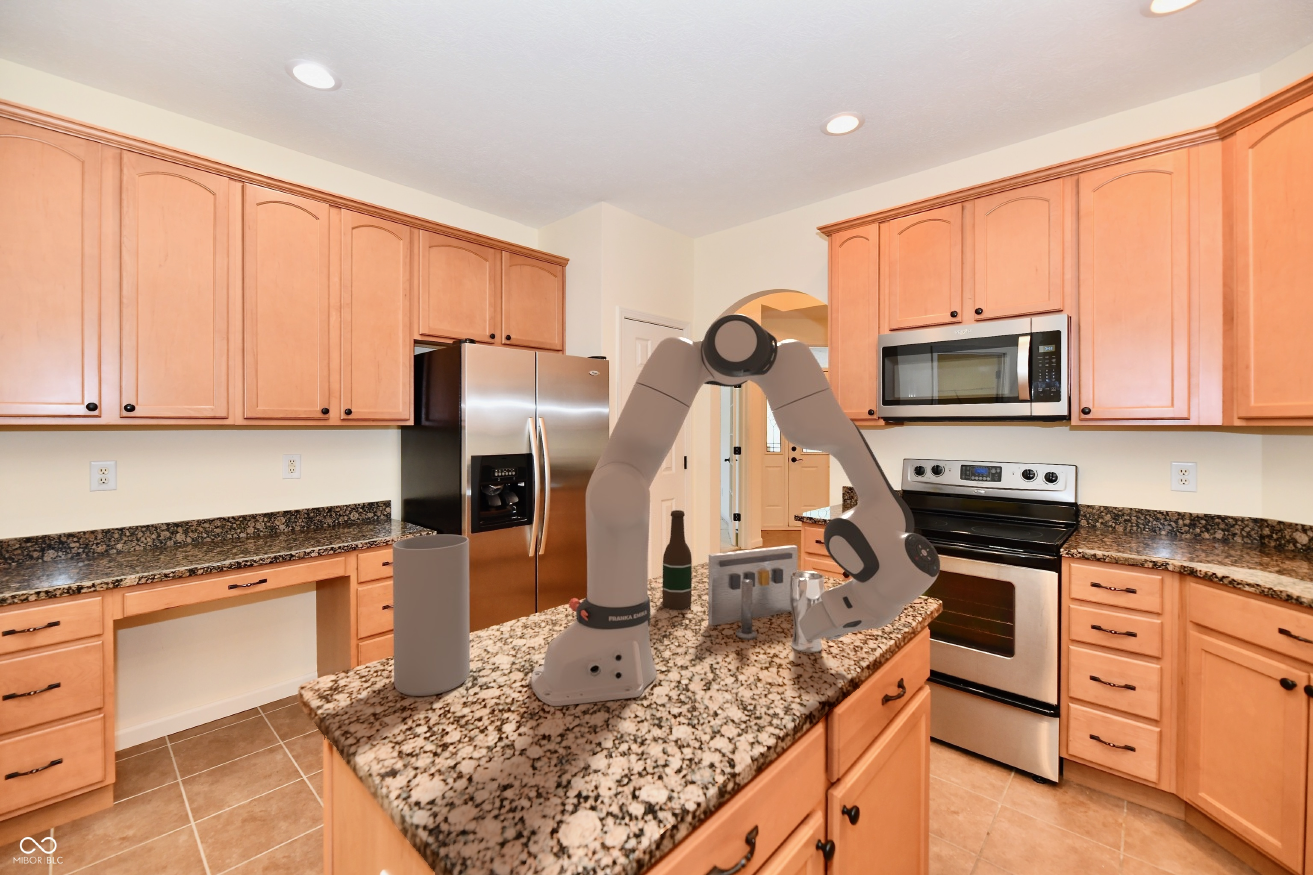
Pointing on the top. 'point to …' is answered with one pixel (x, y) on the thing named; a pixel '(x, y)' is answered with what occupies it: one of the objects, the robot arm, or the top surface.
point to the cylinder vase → (431, 613)
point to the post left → (746, 611)
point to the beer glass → (804, 606)
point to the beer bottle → (677, 567)
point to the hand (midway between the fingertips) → (830, 636)
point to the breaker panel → (763, 569)
